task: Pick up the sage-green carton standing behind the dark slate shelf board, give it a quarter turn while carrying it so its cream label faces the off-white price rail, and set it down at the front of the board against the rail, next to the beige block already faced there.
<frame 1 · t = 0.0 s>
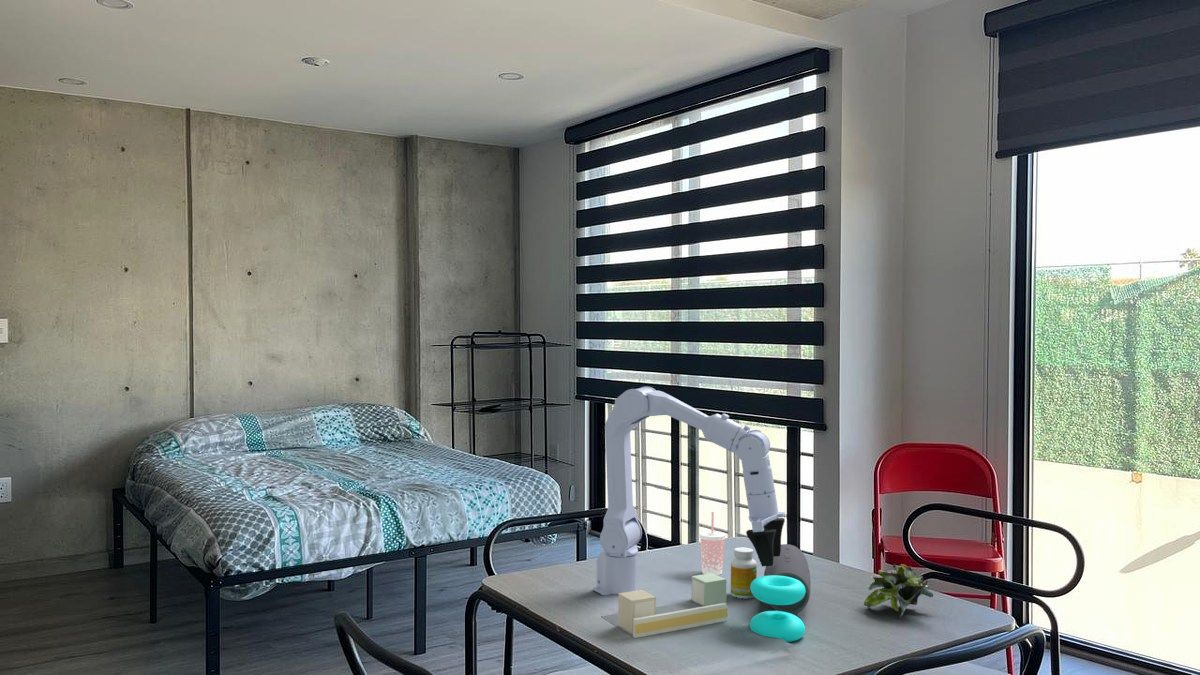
hand: (771, 560, 173), 11 cm above the table, tool pointing down, fingers open, 7 cm apart
supplement bottle: (743, 596, 186), on the table
beverage cup: (712, 573, 202), on the table
donuts: (777, 636, 162), on the table
green leafy plant: (898, 613, 175), on the table
bluetooth speaker: (786, 603, 181), on the table
shelf board: (663, 624, 167), on the table
sage carton: (708, 607, 178), on the table
beige block: (636, 627, 162), point 1 cm above the table, touching shelf board
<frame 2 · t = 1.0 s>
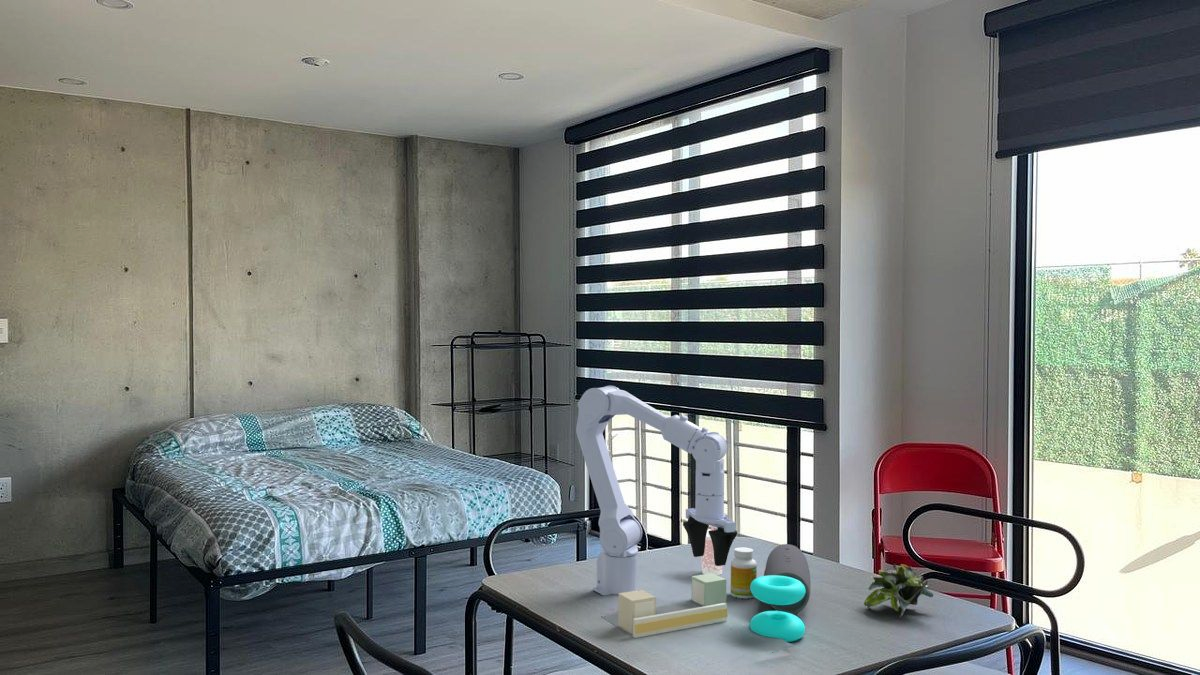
hand: (709, 560, 178), 9 cm above the table, tool pointing down, fingers open, 7 cm apart
nothing on the table moved.
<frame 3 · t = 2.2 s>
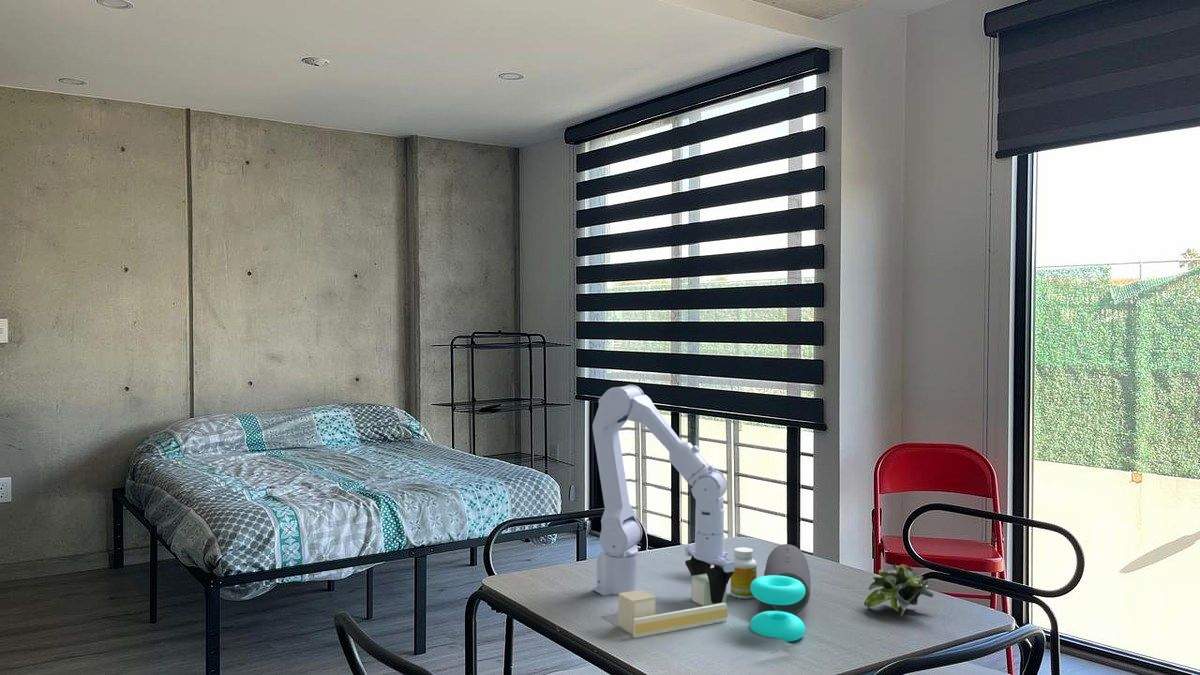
hand: (708, 598, 178), 2 cm above the table, tool pointing down, fingers closed on sage carton, 5 cm apart
sage carton: (708, 606, 178), on the table, touching gripper
everything else where it was.
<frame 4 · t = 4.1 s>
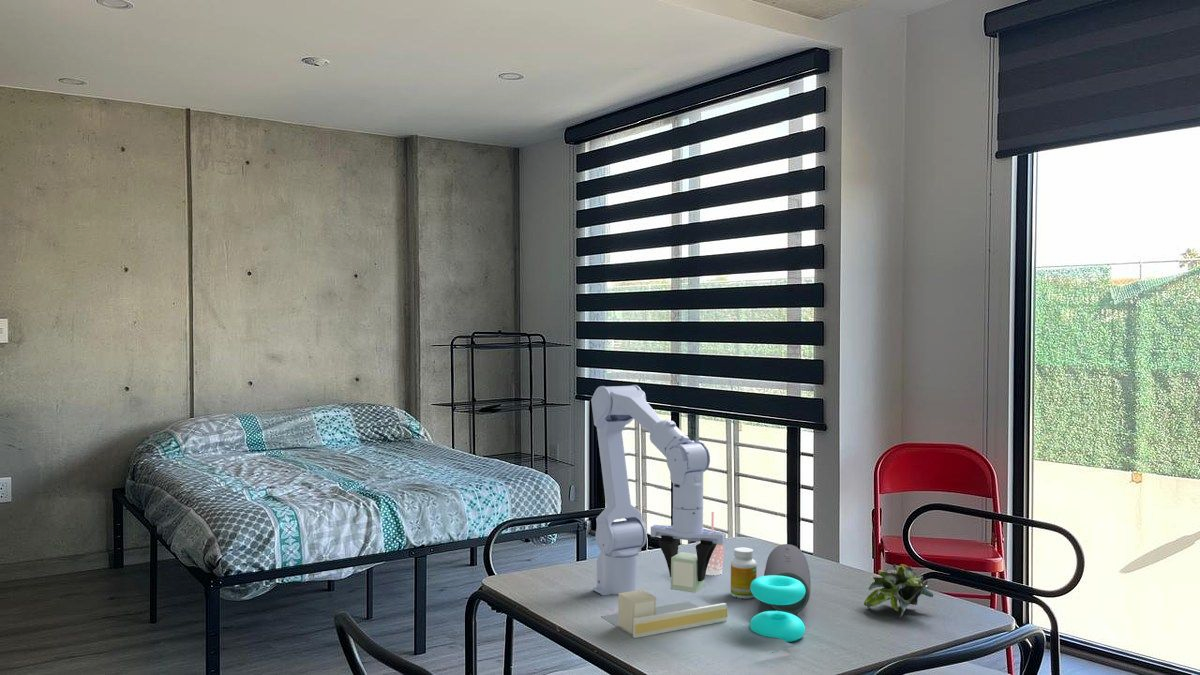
hand: (687, 578, 167), 9 cm above the table, tool pointing down, fingers closed on sage carton, 5 cm apart
sage carton: (687, 587, 167), point 7 cm above the table, touching gripper
everything else where it was.
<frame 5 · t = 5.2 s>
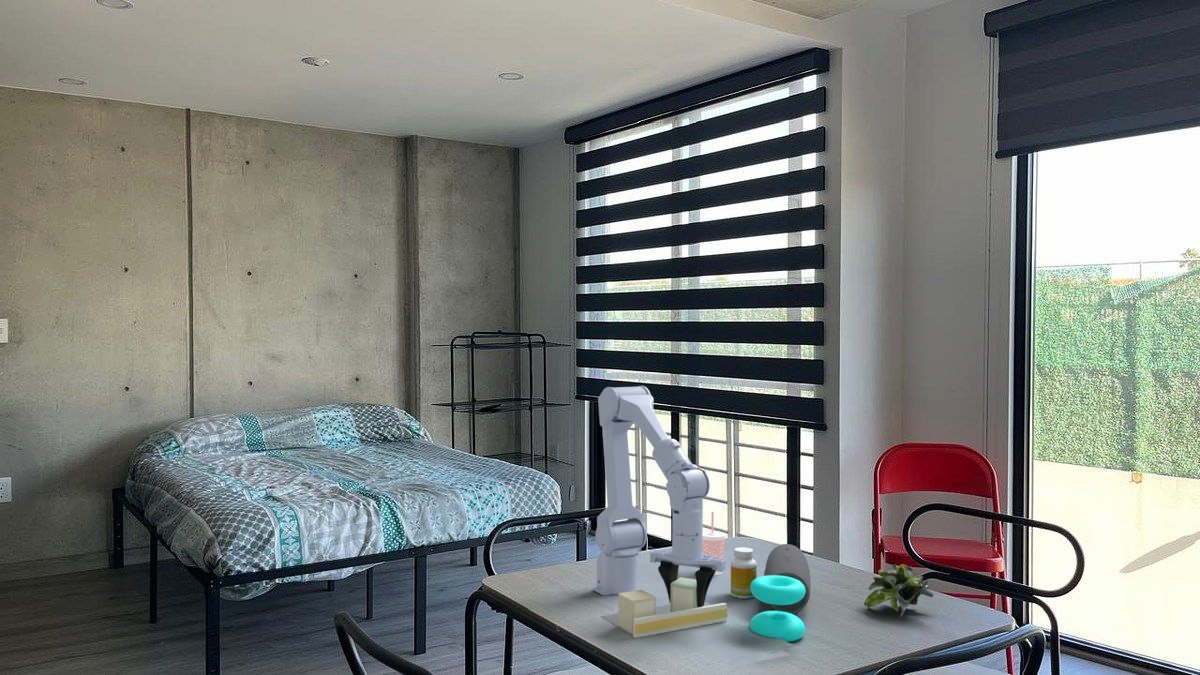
hand: (686, 603, 167), 4 cm above the table, tool pointing down, fingers closed on sage carton, 5 cm apart
sage carton: (687, 613, 167), point 2 cm above the table, touching gripper
everything else where it was.
when the fingers open (4 cm above the table, at t = 5.9 s): sage carton stays where it is, resting on shelf board.
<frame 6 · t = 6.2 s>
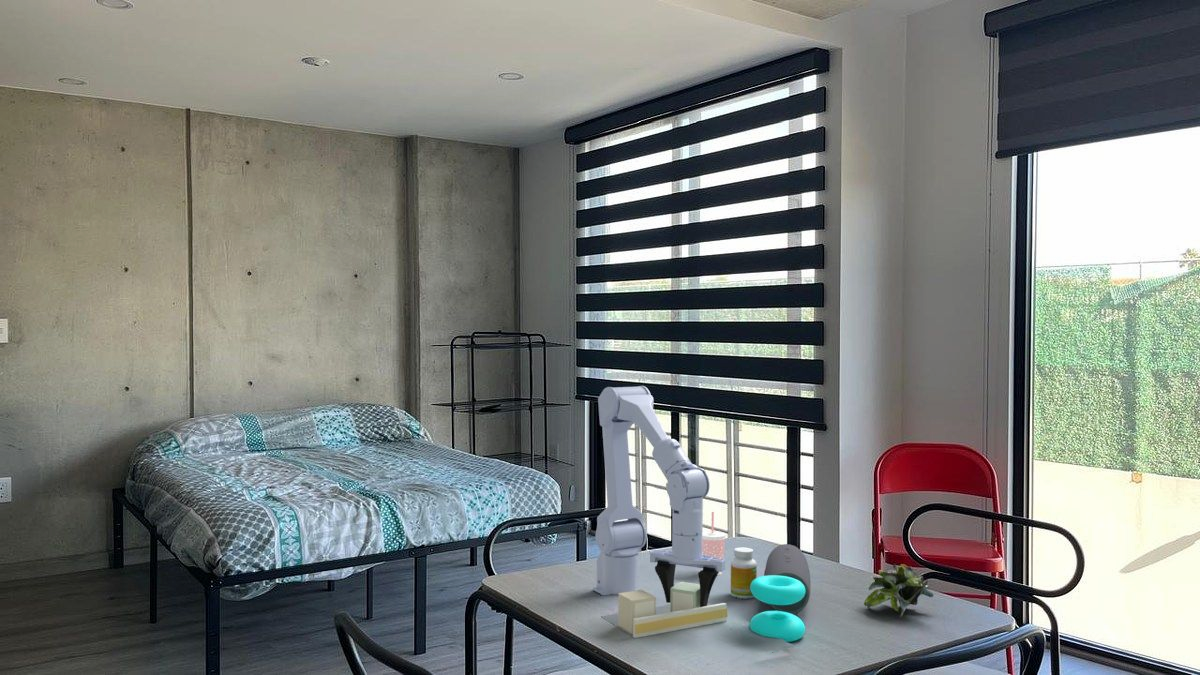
hand: (686, 603, 167), 4 cm above the table, tool pointing down, fingers open, 6 cm apart
sage carton: (687, 618, 167), point 1 cm above the table, touching shelf board
everything else where it was.
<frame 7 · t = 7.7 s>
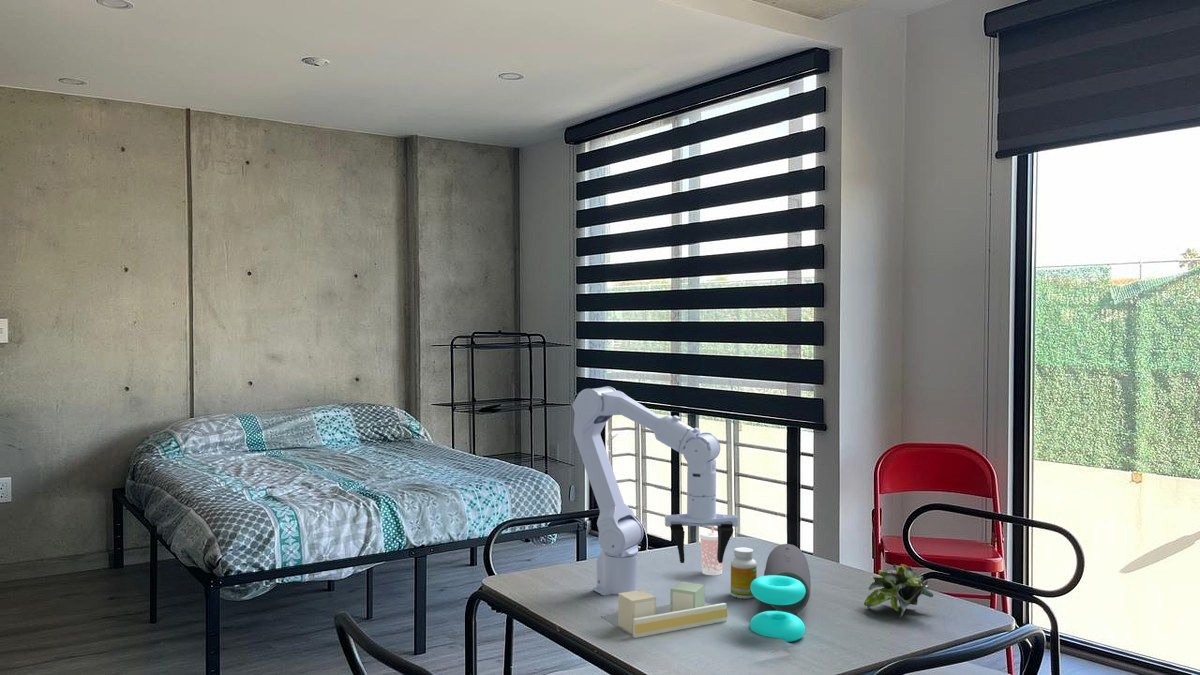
hand: (700, 561, 177), 9 cm above the table, tool pointing down, fingers open, 7 cm apart
nothing on the table moved.
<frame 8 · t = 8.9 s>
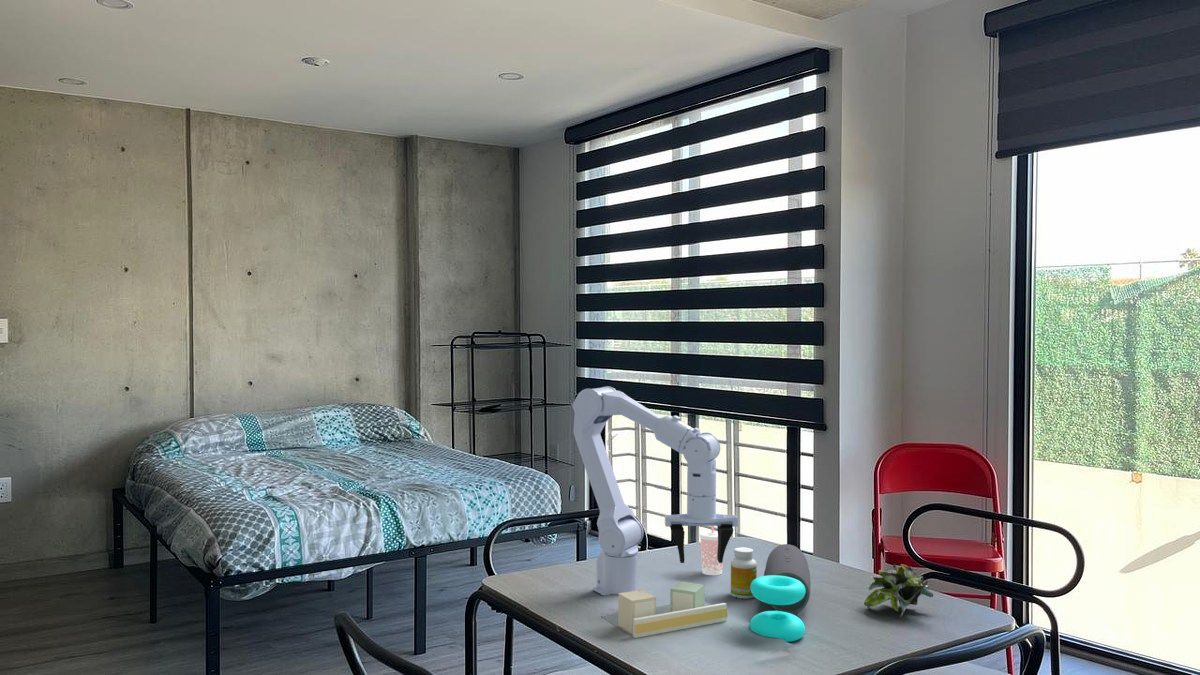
hand: (700, 561, 177), 9 cm above the table, tool pointing down, fingers open, 7 cm apart
nothing on the table moved.
at the end: sage carton 0.8 cm from the target spot on the shelf board, point 1.2 cm above the shelf board's base; sage carton tilted 0°; the gripper is holding nothing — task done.
